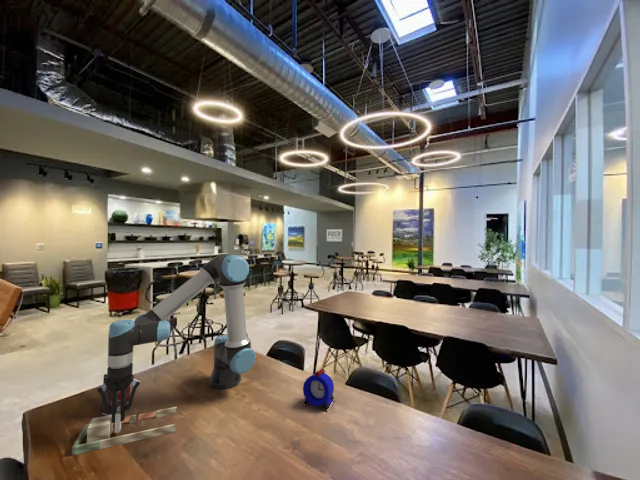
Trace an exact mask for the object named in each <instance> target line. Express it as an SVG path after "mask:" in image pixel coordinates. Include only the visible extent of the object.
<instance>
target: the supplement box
mask: <svg viewBox="0 0 640 480" xmlns="http://www.w3.org/2000/svg"><path fill="white" fill-rule="evenodd" d="M106 380H107V373H105V374H103V384H105V382H106ZM103 384H102V385H103ZM106 387H107V386H106ZM106 391H107V394H108V398H109V402H110V405H111V408H112V391H111V390H110V389H109V388H108V387H107V389H106ZM130 395H131V384H130V385H129V386H128V388H127V389H126V405H128V401H129V398H130ZM120 406H121V391H118V400H117V411H118V410H120ZM101 415H102V416H108V415H112V414H110V413H108V414H106V413H105V409H104V406H103V402H101Z"/></svg>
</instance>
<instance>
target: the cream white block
mask: <svg viewBox="0 0 640 480" xmlns="http://www.w3.org/2000/svg"><path fill="white" fill-rule="evenodd" d="M88 424H89V426H88V428H87V433H86V443H90V442H95V441H99V440H104V439H108V438H111V436H112V433H113V427H114V426H113V423H112V415H108V416H105V415H102V416H99V417H93V418H91V420H90V423H88Z"/></svg>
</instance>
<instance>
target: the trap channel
mask: <svg viewBox="0 0 640 480" xmlns="http://www.w3.org/2000/svg"><path fill="white" fill-rule="evenodd" d="M177 408H178V407H177V406H172V407H169V408H162V409H158V410H154V411H153V410H152V411H150V412H148V411H147V412H143V413H139V414H138V417H137V414H133V415H129V416H125V419H124V421H121V425H123V424H134V423H136V422H137V421H142V420H147V419H153V418H156V419H159V418H162V417H168V416H173V415H177ZM89 424H90V423H86V424H84V426H83V428H82V429H81V431H80V433H79V434H78V436H77V438H76V439H75V441H74V443H73V445H72V447H71V456H76V455H80V454H84V453H85V454H86V453H89V452H93V451H97V450H103V449H107V448H111V447H116V446H119V445H125V444H129V443H132V442H138V441H141V440H147V439H150V438H155V437H158V436H165V435H168V434H172V433H175V432H176V423H173V424H168V425H164V426H161V427H160V426H159V427H155V428H150V429H147V430H146V429H145V430H142V431H141V430H140V431H136V432H132V433H128V434H123V435H118V436H113V437H110V438H108V439H104V440H99V441H95V442H90V443H87V442H86V443H83V440H84V438H85V436H87V428H88V426H89ZM113 427H115V423H113Z"/></svg>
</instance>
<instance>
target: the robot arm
mask: <svg viewBox="0 0 640 480" xmlns="http://www.w3.org/2000/svg"><path fill="white" fill-rule="evenodd" d="M249 274H250V266H249V263H248V261H247V260H246V259H245V258H244V257H243V256H240V255H237V254H227V253H223V254H222V253H221V254H218V255H216V256H215V257H213V258H212V259H211V260H209V261H208V262H207V263H205V264H204V265H203V266H201V267H200V268H199V271H198V272H197V273H196V274H195V275H193V276H192V277H191V278H189V279H188V280H187V281H186V282H184V283H183V284H182V285H180V286H179V287H178V288H176V289H175V290H173V292H172V293H170V294H169V295H167V296H166V297H165V298H163V300H161V301H160V302H158V303H157V304H156V305H155V306H154V307H152V308H151V309H150V310H148V311H147V312H145V313H142V314H138V316H136V317H135V319H134V320H133V319H120V320H115V321H113V322H112V323H110V324H109V329H108V339H107V341H108V342H107V344H108V345H107V347H108V348H107V371H106V372H107V373H106V374H107V380H106V382H105V384H100V385H99V386H98V388H97V389H96V391H97V393H98V394H99V395H100V398H101V401H102V402H103V406H104V409H105V413H106V414H108V413H110V414H112V423H115V425H114V434H118V433H121V429H122V424H121V421H124V419H125V417H126V411H127V410H128V411H129V410H131V407H132V405H133V402H134V398H135V394H136V391H137V389H138V387H139V386H140V384H141V379H136V378H135V377H134V374H133V371H134V370H133V367H134V365H133V361H134V346H139V345H147V344H152V343H157V342H162V341H166V340H168V339H169V338H170V336H171V323H170V322H169V320H168V319H169V318H170V317H171V316H172V315H174V314H175V313H176V312H177V311H179V310H180V309H181V308H182V307H183V306H185V305H187V303H188V302H190V301H191V300H192V299H193V298H194V297H196V296H197V295H198V294H199V293H201V292H202V291H203V290H204V289H206V288H207V287H208V286H209V285H211V284H215V283H216V282H217V281H219V282H218V283H219V287H220V288H222V289H223V298H224V310H225V323H226V334H222V335H218V336H216V337H215V338H214V344H213V349H214V350H213V368H212V370H211V371H212V372H211V373H210V377H209V382H208V383H209V384H210V385H209V386H210V387H211V388H212V387H213V388H212V389H215V388H216V389H217V390H226V388H227V389H231V388H234V387H236V386H238V385H239V384H240V383H241V382H240V381H242V374H244V373H247V372H249V371H250V370H251V369H252V367H253V366H254V364H255V362H256V358H257V357H256V356H257V355H256V352H255V350H254V349H253V348H252V343H251V342H252V341H251V338H250V337H249V336H247V335H248V333H247V325H246V323H247V322H246V320H247V319H246V309H245V297H244V286H245V285H246V283H247V277H248V276H249ZM239 382H240V383H239ZM238 383H239V384H238ZM237 384H238V385H237ZM129 385H130V386H132V389H131V391H130V398H129V401H128V405H126V389H127V388H128V386H129ZM235 385H236V386H235ZM106 386H107V387H108V388H109V389H110V390H111V391H112V408H111V405H110V402H109V398H108V394H107V391H106V389H107V387H106ZM233 386H234V387H233ZM230 387H231V388H230ZM118 391H121V406H120V410H118V411H117V400H118ZM102 402H101V403H102Z"/></svg>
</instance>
